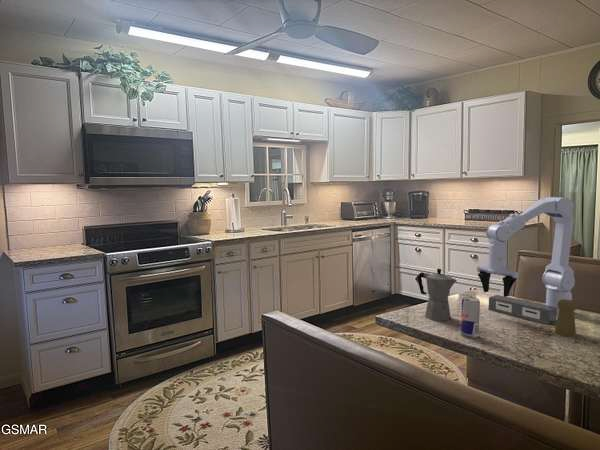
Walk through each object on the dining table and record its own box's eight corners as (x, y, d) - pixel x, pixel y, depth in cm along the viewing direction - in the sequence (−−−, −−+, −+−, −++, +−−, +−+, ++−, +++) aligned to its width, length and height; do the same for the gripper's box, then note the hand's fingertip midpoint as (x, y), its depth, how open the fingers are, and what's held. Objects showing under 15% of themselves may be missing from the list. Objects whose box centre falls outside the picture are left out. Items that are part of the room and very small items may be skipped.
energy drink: (457, 332, 136) (459, 296, 135) (473, 332, 137) (474, 296, 136) (465, 338, 131) (466, 301, 130) (481, 338, 132) (483, 300, 130)
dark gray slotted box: (496, 307, 166) (497, 294, 165) (556, 321, 148) (557, 307, 148) (488, 309, 162) (488, 297, 162) (548, 324, 144) (549, 310, 144)
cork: (579, 336, 133) (581, 303, 132) (559, 335, 134) (561, 302, 133) (570, 330, 139) (572, 298, 138) (551, 329, 140) (552, 297, 139)
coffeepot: (460, 318, 152) (462, 269, 150) (448, 324, 145) (450, 273, 144) (422, 309, 163) (423, 263, 161) (409, 314, 156) (410, 267, 155)
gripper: (472, 255, 156) (471, 291, 157) (511, 261, 144) (509, 299, 145) (483, 254, 160) (482, 288, 161) (521, 259, 148) (520, 296, 149)
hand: (495, 293), depth 153 cm, fingers open, 7 cm apart
